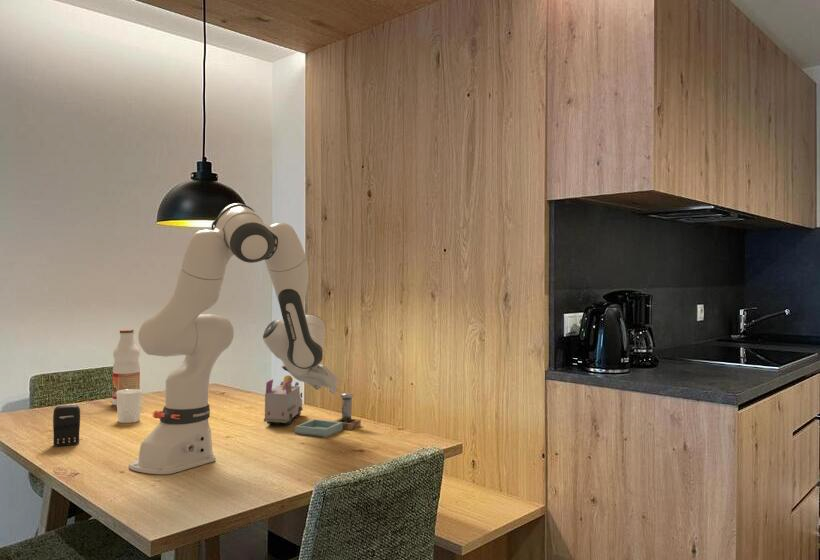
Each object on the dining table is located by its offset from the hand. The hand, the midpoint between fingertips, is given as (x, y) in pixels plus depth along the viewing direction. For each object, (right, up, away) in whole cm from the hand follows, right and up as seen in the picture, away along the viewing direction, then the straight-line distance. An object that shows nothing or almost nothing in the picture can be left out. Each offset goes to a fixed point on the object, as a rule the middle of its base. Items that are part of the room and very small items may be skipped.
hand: (327, 390), depth 206 cm
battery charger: (-73, -12, -21) cm, 77 cm away
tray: (-2, -13, -1) cm, 14 cm away
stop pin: (+5, -13, +7) cm, 16 cm away
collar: (+5, -13, +7) cm, 16 cm away
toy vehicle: (-17, -13, +14) cm, 25 cm away
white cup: (-68, -12, +10) cm, 70 cm away
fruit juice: (-81, -12, +37) cm, 89 cm away
